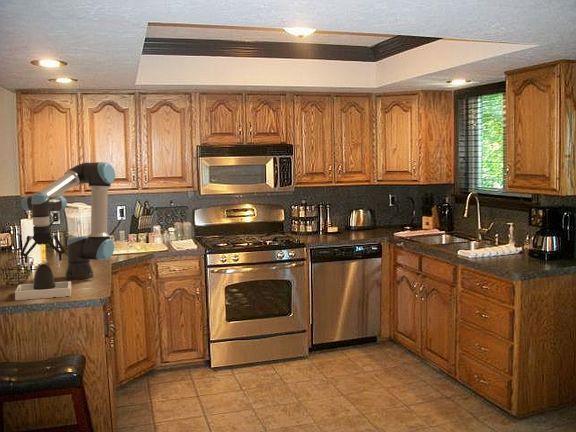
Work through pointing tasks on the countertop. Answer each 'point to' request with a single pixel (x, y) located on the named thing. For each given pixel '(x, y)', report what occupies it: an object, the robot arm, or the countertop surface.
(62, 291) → the box
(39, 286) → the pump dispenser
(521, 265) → the countertop surface
